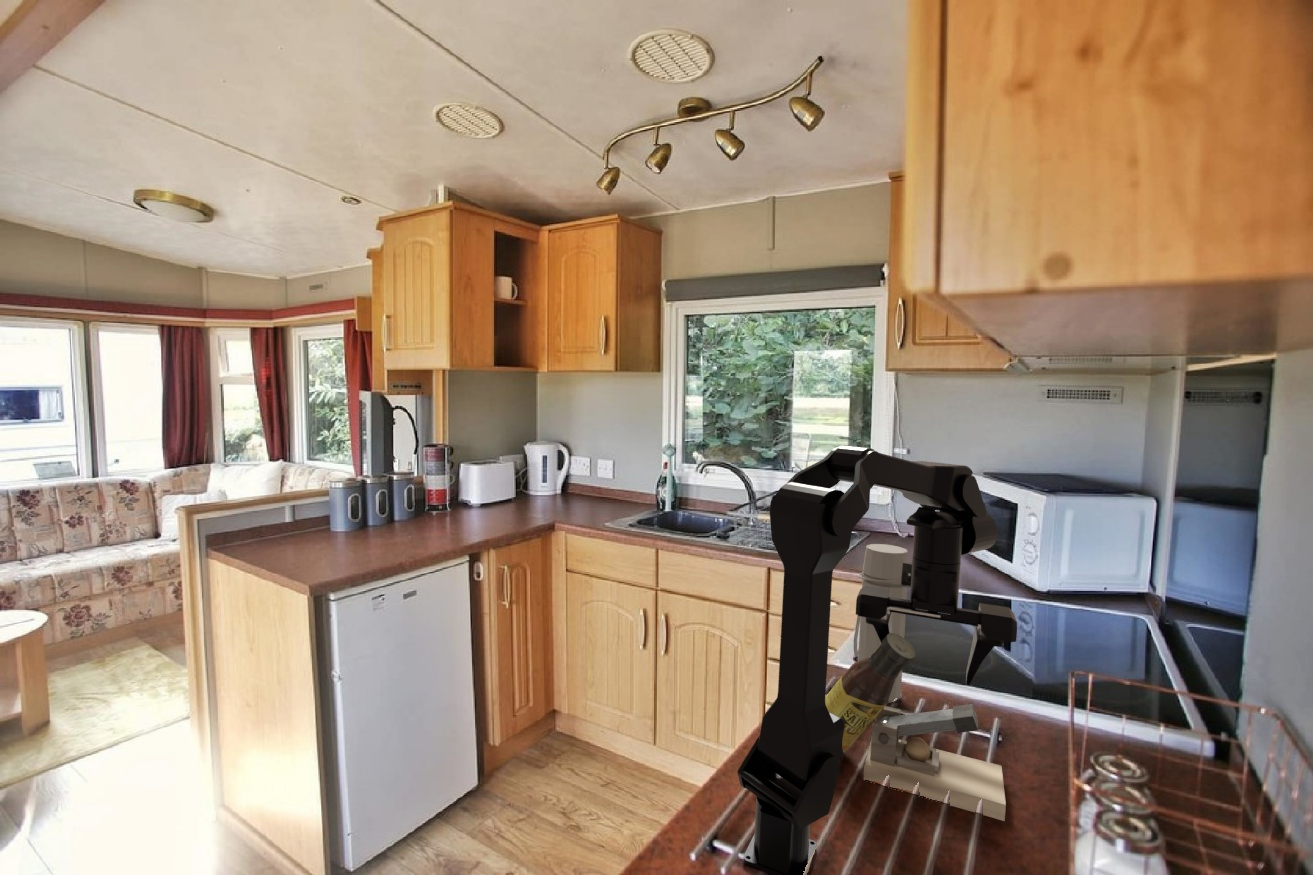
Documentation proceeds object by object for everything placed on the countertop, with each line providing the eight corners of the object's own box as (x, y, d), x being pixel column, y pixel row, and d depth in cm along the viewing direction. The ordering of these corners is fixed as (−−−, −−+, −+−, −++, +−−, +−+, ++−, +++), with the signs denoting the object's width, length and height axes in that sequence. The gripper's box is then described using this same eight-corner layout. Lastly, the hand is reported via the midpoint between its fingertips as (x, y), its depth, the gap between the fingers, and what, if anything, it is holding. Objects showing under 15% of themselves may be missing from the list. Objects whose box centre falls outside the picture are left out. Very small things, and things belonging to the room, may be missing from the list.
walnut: (928, 770, 79) (930, 747, 79) (903, 763, 81) (905, 741, 81) (929, 758, 82) (931, 736, 82) (905, 752, 83) (906, 730, 83)
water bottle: (911, 700, 103) (921, 551, 101) (878, 710, 99) (888, 556, 97) (868, 677, 111) (876, 539, 109) (836, 685, 107) (844, 543, 105)
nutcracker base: (1004, 821, 73) (1008, 763, 73) (863, 779, 80) (866, 727, 80) (1000, 780, 81) (1004, 728, 81) (872, 746, 88) (875, 698, 88)
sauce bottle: (814, 760, 83) (891, 664, 74) (796, 717, 88) (866, 623, 79) (853, 760, 86) (932, 667, 77) (833, 719, 91) (905, 627, 82)
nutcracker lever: (978, 730, 76) (972, 716, 77) (880, 740, 82) (875, 727, 82) (977, 717, 80) (972, 703, 80) (883, 728, 85) (878, 715, 85)
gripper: (1012, 555, 84) (1004, 667, 85) (867, 538, 92) (861, 641, 93) (1021, 575, 74) (1012, 702, 75) (858, 554, 82) (851, 669, 83)
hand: (928, 675), depth 81 cm, fingers open, 9 cm apart
